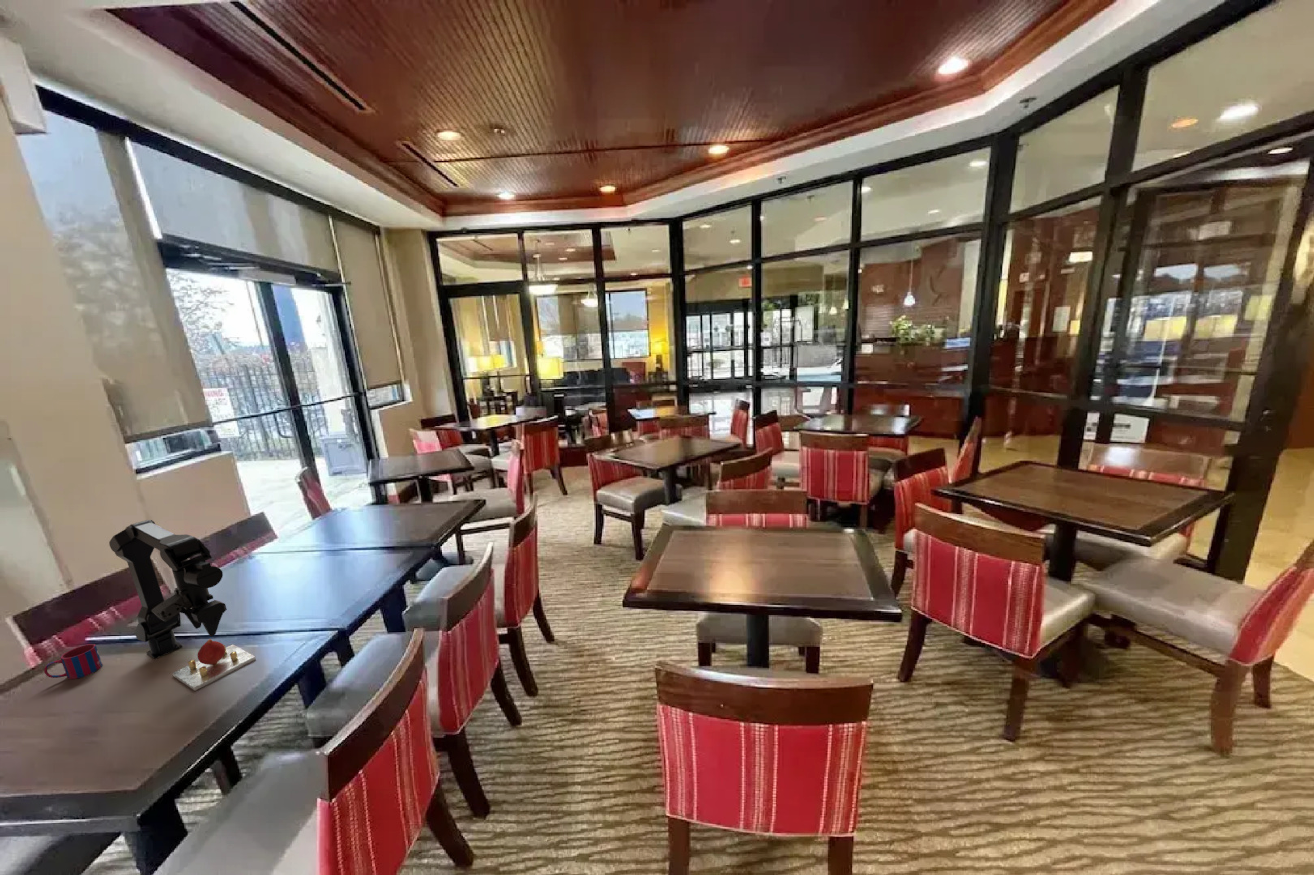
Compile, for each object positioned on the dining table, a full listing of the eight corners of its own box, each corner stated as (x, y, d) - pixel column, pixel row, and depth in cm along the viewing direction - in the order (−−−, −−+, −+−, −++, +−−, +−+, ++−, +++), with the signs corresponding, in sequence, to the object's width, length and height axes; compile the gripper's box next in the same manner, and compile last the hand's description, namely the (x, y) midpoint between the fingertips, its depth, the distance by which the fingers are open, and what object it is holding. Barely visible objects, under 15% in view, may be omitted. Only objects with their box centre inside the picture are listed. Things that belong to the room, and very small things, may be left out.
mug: (102, 670, 140) (95, 649, 139) (48, 689, 133) (40, 668, 132) (103, 660, 145) (96, 640, 143) (51, 678, 138) (43, 658, 136)
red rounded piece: (197, 673, 135) (190, 648, 133) (205, 662, 140) (199, 637, 138) (223, 666, 137) (217, 641, 136) (230, 655, 142) (224, 631, 141)
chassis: (173, 676, 136) (169, 665, 135) (233, 647, 148) (230, 637, 147) (194, 690, 129) (191, 679, 129) (255, 659, 141) (253, 648, 141)
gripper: (137, 589, 130) (153, 640, 133) (165, 603, 122) (182, 657, 125) (190, 570, 140) (204, 618, 143) (220, 583, 131) (234, 633, 134)
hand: (205, 631), depth 136 cm, fingers open, 9 cm apart
